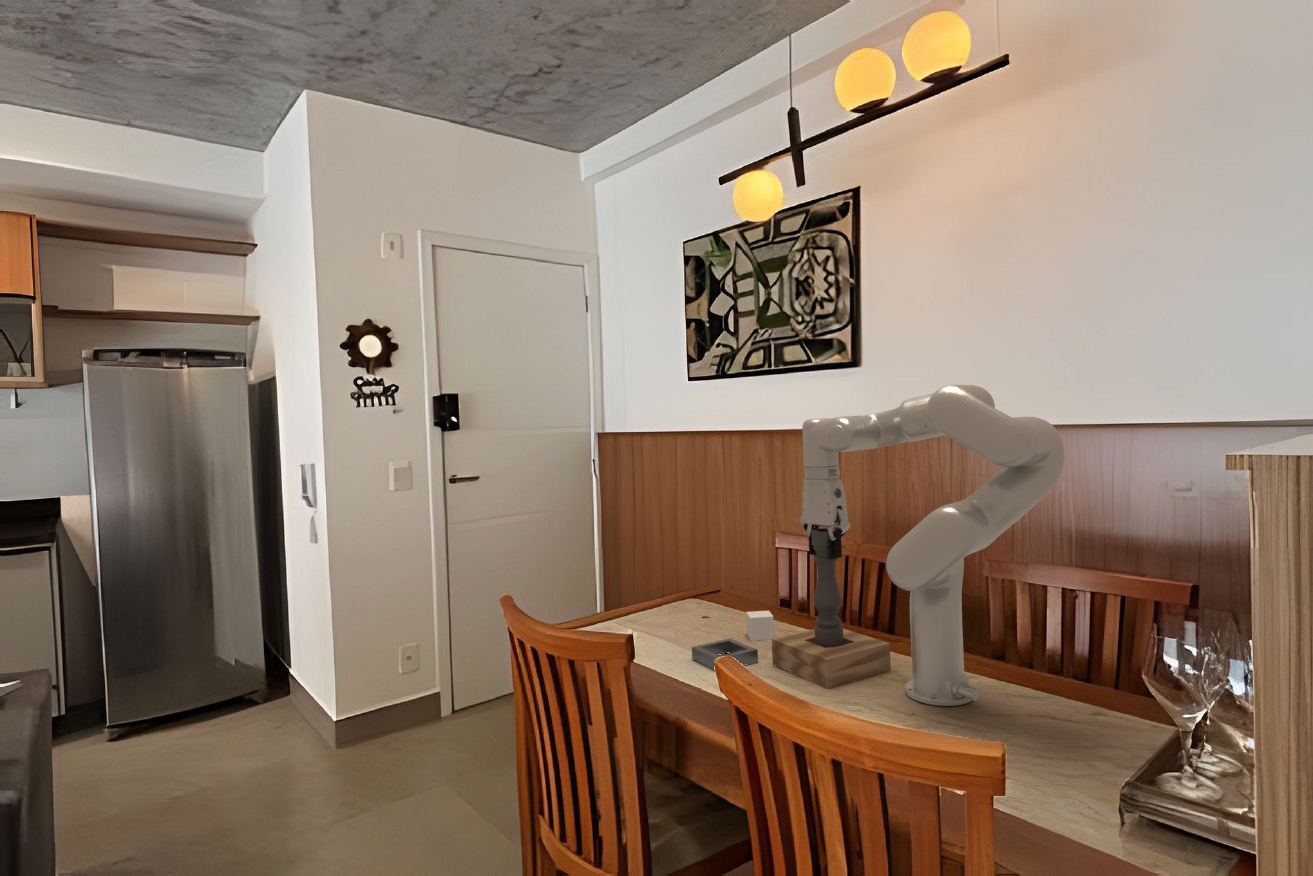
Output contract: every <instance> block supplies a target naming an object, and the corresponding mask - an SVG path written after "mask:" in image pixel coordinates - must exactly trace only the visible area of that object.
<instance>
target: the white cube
mask: <svg viewBox="0 0 1313 876" xmlns="http://www.w3.org/2000/svg"><path fill="white" fill-rule="evenodd" d="M745 615H746V635H747V637H748V638H749V640H750V641H751V642H756V641H755V640H762V641H770V640H769V639H774V638H775V623H774V622H775V621H774V615H773V614H772V613H771V611H770V610H757V611H746V612H745Z"/></svg>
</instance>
